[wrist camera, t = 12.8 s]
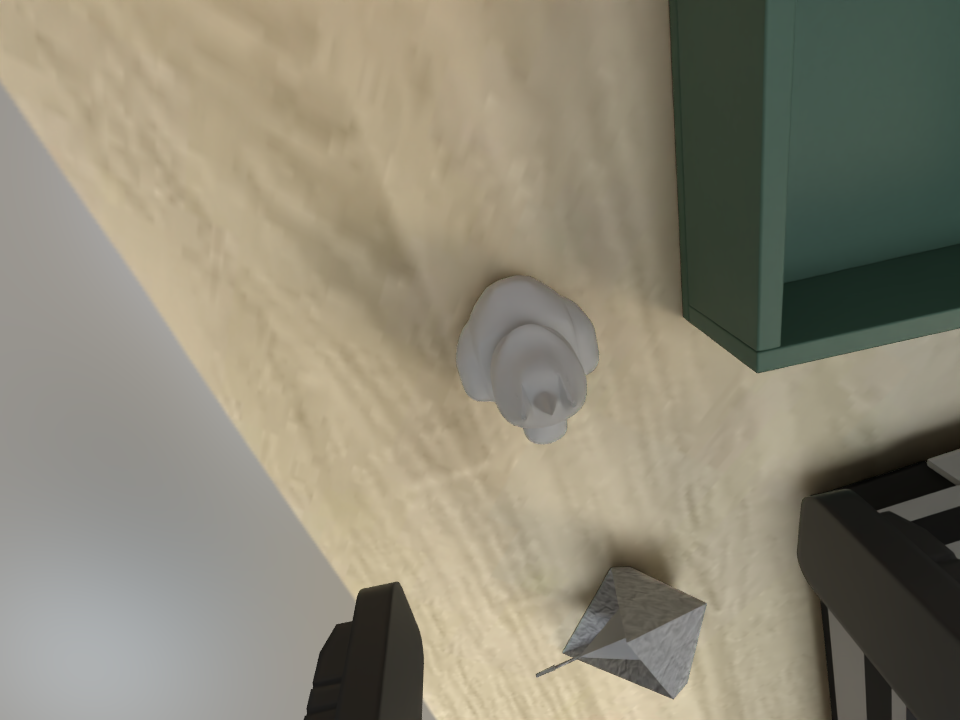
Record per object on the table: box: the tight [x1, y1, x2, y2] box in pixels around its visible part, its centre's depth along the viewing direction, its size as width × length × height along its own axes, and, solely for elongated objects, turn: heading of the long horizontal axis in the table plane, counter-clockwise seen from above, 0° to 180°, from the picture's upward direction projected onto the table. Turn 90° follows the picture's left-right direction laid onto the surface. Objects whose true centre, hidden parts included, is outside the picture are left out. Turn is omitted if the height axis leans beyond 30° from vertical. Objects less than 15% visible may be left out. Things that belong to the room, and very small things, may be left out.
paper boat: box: [536, 567, 707, 699], centre depth 25 cm, size 12×6×9 cm
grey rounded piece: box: [456, 275, 599, 444], centre depth 18 cm, size 5×7×8 cm
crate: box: [669, 0, 960, 373], centre depth 15 cm, size 16×16×6 cm
